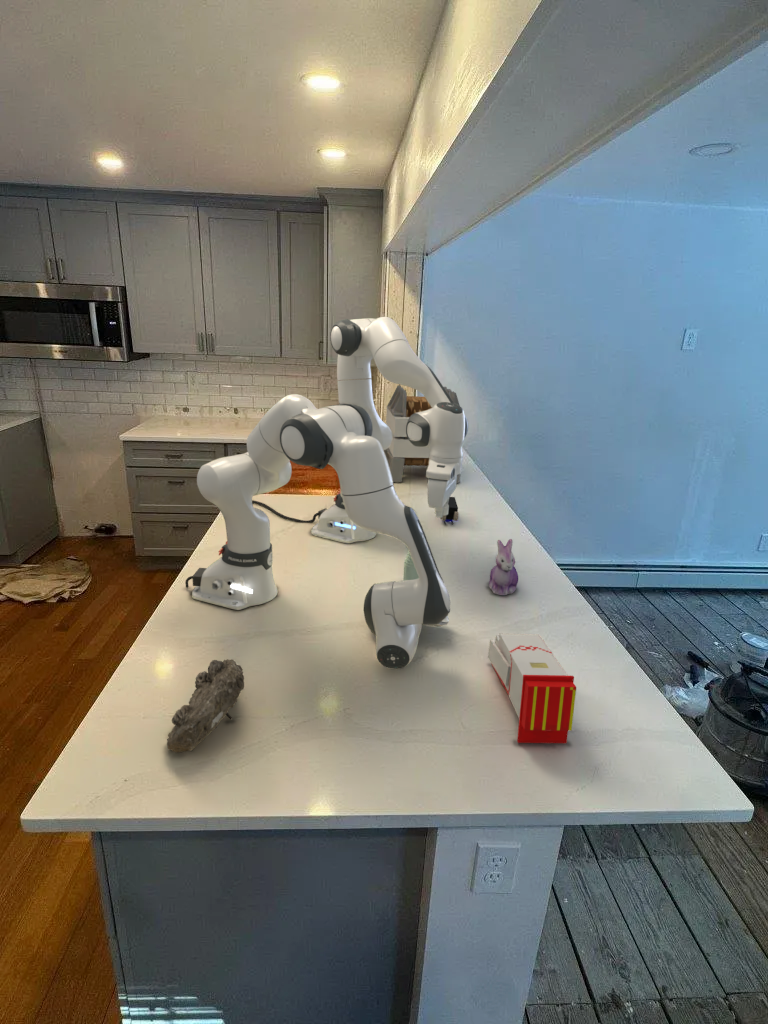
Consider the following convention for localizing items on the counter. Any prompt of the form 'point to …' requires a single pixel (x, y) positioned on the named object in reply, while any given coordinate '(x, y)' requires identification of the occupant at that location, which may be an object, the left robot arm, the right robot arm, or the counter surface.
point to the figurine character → (451, 511)
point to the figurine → (504, 571)
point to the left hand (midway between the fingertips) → (411, 593)
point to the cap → (445, 508)
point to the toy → (534, 687)
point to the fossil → (206, 705)
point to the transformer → (397, 420)
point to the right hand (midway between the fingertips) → (441, 514)
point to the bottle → (409, 569)
